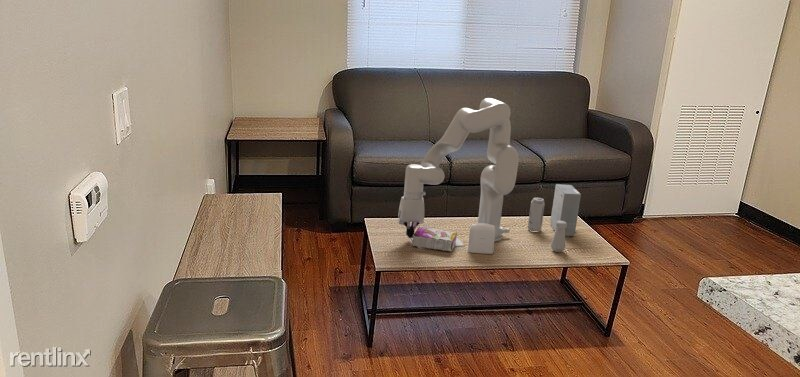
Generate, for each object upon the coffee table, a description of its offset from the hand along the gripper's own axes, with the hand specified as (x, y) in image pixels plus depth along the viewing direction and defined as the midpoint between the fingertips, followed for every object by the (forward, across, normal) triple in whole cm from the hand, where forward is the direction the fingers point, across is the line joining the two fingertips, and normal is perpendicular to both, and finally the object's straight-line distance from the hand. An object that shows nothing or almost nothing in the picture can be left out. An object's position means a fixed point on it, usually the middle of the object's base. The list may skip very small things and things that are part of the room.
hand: (409, 236), depth 236 cm
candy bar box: (-1, -2, +1) cm, 2 cm away
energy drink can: (+2, -60, -4) cm, 61 cm away
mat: (+2, -12, 0) cm, 12 cm away
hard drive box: (+2, -73, -2) cm, 73 cm away
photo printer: (+2, -26, +15) cm, 30 cm away
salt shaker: (+2, -58, +19) cm, 62 cm away
